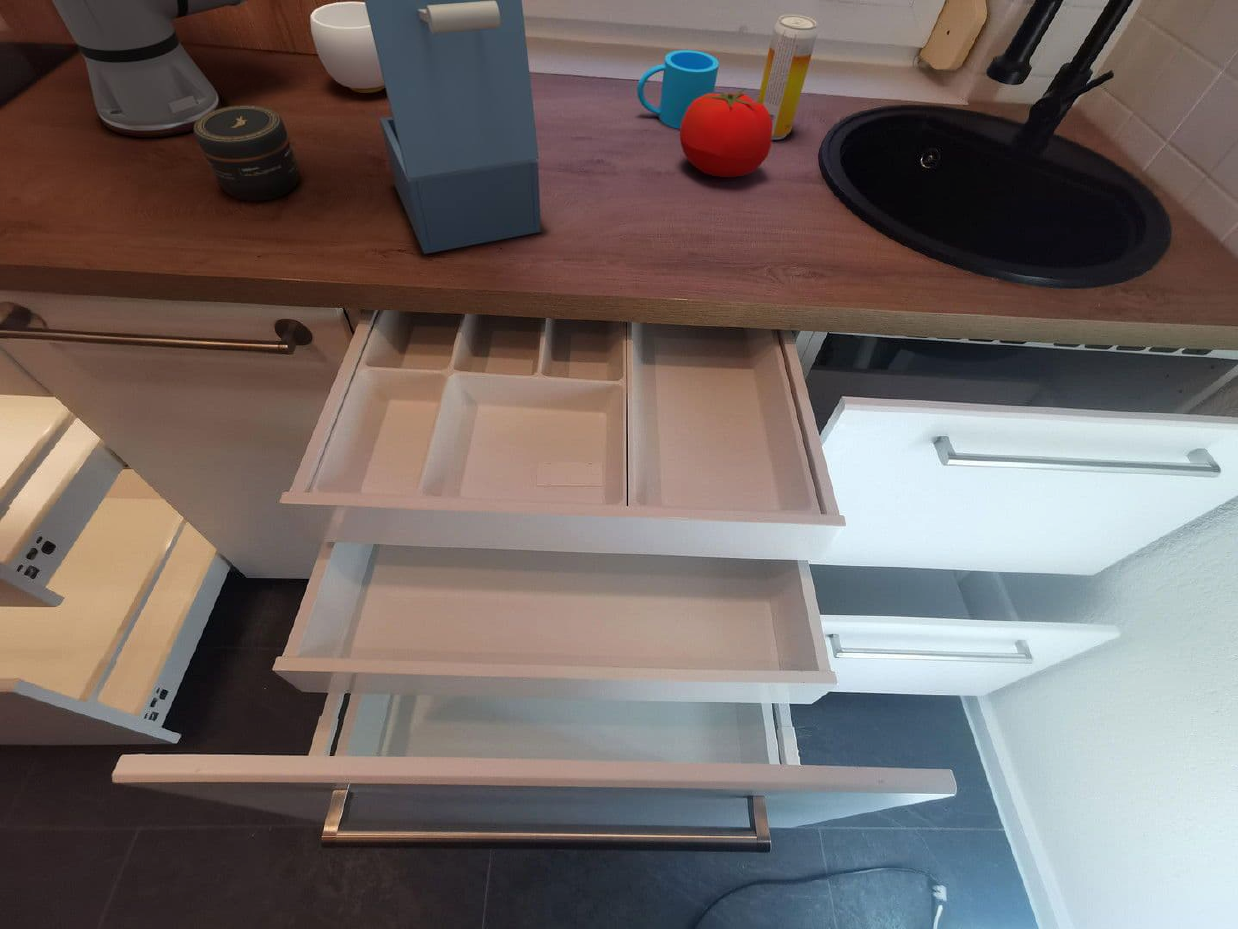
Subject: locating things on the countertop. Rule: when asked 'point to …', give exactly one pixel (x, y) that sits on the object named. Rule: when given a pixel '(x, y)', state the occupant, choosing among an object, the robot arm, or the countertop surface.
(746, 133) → the tomato
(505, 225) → the cap box
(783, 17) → the beer can
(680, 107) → the mug
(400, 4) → the cap lid
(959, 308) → the countertop surface
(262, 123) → the jar
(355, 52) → the cup
